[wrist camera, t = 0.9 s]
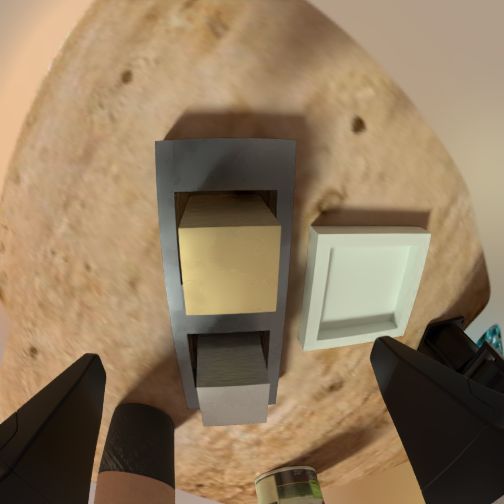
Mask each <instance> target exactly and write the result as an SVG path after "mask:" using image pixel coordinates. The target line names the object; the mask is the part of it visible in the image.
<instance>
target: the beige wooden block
mask: <svg viewBox="0 0 504 504" xmlns="http://www.w3.org/2000/svg"><path fill="white" fill-rule="evenodd" d="M178 231H179V245H180V257H181V269H182V280H183V290H184V299H185V308H186V315H214V314H238V313H257V312H274V311H276V303H277V289H278V273H279V257H280V239H281V225H280V223H279V222H278V221H277V219H276V218H275V216H274V215H273V214H272V212H271V211H270V209H269V208H268V207H267V205H266V204H265V202H264V201H263V200H262V198H261V197H260V196H259V194H234V195H195V196H190V198H189V201H188V203H187V206H186V209H185V211H184V214H183V217H182V220H181V222H180V225H179V228H178Z"/></svg>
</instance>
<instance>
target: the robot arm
mask: <svg viewBox="0 0 504 504" xmlns="http://www.w3.org/2000/svg"><path fill="white" fill-rule="evenodd" d="M465 320H466V319H465V318H464V317H463V316H462V317H458V318H454V319H450V320H446V321H442V322H438V323H434V324H430V325H429V326H428V327H427V328H426V331H425V333H424V336H423V338H422V341H421V343H420V346H419V348H418V351H416V350H414V349H412V348H410V347H409V346H407V345H405V344H403V343H401V342H399V341H397V340H395V339H394V338H392V337H390V336H387V335H385V336H380V337H377V338H376V339H375V342H374V345H373V348H372V351H371V355H370V361H371V364H372V367H373V370H374V373H375V376H376V379H377V383H378V386H379V389H380V392H381V395H382V397H383V400H384V402H385V404H386V407H387V409H388V411H389V413H390V416H391V418H392V420H393V423H394V425H395V427H396V429H397V432H398V434H399V437H400V439H401V441H402V444H403V446H404V448H405V451H406V453H407V456H408V458H409V461H410V463H411V465H412V468H413V471H414V473H415V476H416V478H417V481H418V483H419V486H420V489H421V491H422V495H423V497H424V500H425V503H426V504H504V357H503V356H502V355H501V354H500V353H499V352H498V351H497V350H496V349H495V348H494V347H493V346H492V345H490V344H489V343H488V342H487V341H484V342H483V344H482V346H481V347H480V348H479V347H478V346H477V345H476V344H475V343H474V342H473V341H472V340H471V339H470V338H469V337H468V336H467V335H466V334H465V333H464V332H463V331H462V328H463V325H464V323H465ZM494 358H495V360H494V361H493V359H494ZM105 384H106V372H105V369H104V367H103V364H102V362H101V359H100V357H99V355H98V354H94V353H86V354H84V355H83V356H82V357H81V358H79V359H78V360H77V361H76V362H74V363H73V364H72V365H71V366H70V367H68V368H67V369H66V370H65V371H63V372H62V373H61V374H60V375H59V376H57V377H56V378H55V379H54V380H53V381H51V382H50V383H49V384H48V385H47V386H45V387H44V388H43V389H42V390H41V391H39V392H38V393H37V394H36V395H35V396H33V397H32V398H31V399H30V400H29V401H27V402H26V403H25V404H24V405H23V406H22V407H20V408H19V409H18V410H17V412H14V413H13V414H12V415H11V416H10V417H9V418H7V419H6V420H5V421H4V422H2V423H1V424H0V504H88V500H89V492H90V483H91V477H92V470H93V463H94V457H95V451H96V446H97V440H98V435H99V430H100V425H101V419H102V412H103V402H104V392H105Z"/></svg>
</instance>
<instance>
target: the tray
mask: <svg viewBox="0 0 504 504" xmlns="http://www.w3.org/2000/svg"><path fill="white" fill-rule="evenodd" d="M430 238H431V233H429V232H428V231H426V230H424V229H422V228H421V227H419V226H310V234H309V245H308V256H307V266H306V275H305V284H304V293H303V302H302V310H301V318H300V326H299V333H298V339H299V342H300V344H301V347H302V350H303V351H310V350H318V349H326V348H333V347H340V346H347V345H353V344H359V343H365V342H371V341H375V339H376V338H377V337H380V336H385V335H387V336H390V337H392V338H393V337H398V336H402V335H403V334H404V331H405V329H406V326H407V323H408V320H409V317H410V314H411V311H412V307H413V304H414V301H415V298H416V294H417V291H418V287H419V284H420V280H421V276H422V272H423V268H424V264H425V260H426V256H427V252H428V247H429V243H430Z"/></svg>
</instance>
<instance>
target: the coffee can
mask: <svg viewBox="0 0 504 504" xmlns="http://www.w3.org/2000/svg"><path fill="white" fill-rule="evenodd" d="M255 485H256V492H257V498H258V504H325V503H324V499H323V496H322V493H321V489H320V486H319V482H318V479H317V475H316V471H315V469H314V468H313V467H310V466H289V467H283V468H279V469H275V470H272V471H269V472H266V473H264V474H262V475H260V476H259V477H257V478H256V480H255Z"/></svg>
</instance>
